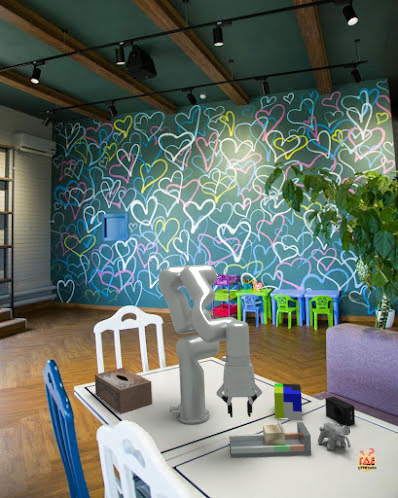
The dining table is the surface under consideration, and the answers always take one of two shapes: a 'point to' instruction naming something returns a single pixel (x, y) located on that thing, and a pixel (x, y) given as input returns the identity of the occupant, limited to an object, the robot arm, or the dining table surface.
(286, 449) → the grey metal rail
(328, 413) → the digital camera
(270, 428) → the beige rectangular block
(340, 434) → the elephant statuette
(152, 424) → the dining table surface
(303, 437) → the grey angled bar
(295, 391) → the puzzle toy
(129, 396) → the tissue box cover
